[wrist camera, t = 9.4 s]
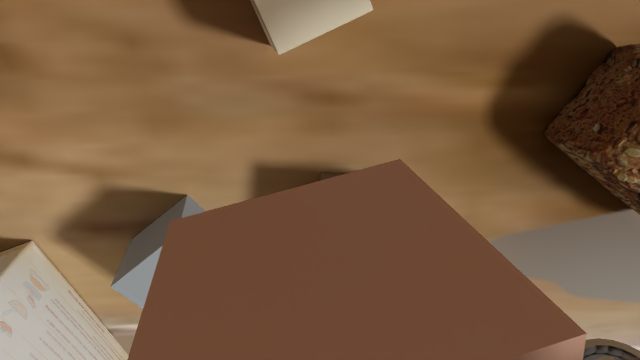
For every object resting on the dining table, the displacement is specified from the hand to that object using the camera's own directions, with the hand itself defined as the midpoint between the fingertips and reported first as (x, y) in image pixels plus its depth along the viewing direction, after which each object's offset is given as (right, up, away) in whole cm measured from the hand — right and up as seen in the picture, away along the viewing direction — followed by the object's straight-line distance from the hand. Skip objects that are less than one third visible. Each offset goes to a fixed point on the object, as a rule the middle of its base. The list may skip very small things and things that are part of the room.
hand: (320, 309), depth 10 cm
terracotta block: (0, +1, +1) cm, 1 cm away
